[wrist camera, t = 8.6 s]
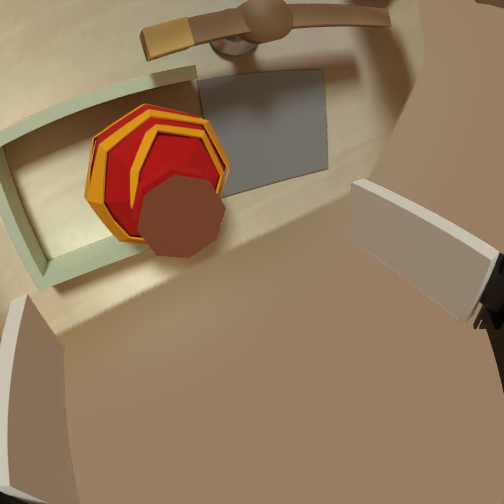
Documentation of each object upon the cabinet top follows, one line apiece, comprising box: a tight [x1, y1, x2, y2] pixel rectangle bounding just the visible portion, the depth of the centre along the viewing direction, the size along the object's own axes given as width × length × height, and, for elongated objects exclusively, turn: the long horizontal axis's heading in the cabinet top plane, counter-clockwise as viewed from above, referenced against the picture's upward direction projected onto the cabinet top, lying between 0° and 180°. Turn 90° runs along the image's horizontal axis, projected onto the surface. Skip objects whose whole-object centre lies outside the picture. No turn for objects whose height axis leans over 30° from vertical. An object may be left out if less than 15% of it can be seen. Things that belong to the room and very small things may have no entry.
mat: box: [198, 70, 328, 198], centre depth 28 cm, size 14×12×1 cm
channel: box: [0, 65, 222, 291], centre depth 22 cm, size 19×15×3 cm
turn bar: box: [139, 0, 391, 62], centre depth 18 cm, size 4×23×2 cm, turn 105°
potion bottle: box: [84, 103, 231, 258], centre depth 19 cm, size 10×10×15 cm
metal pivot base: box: [210, 8, 256, 56], centre depth 20 cm, size 5×5×4 cm
